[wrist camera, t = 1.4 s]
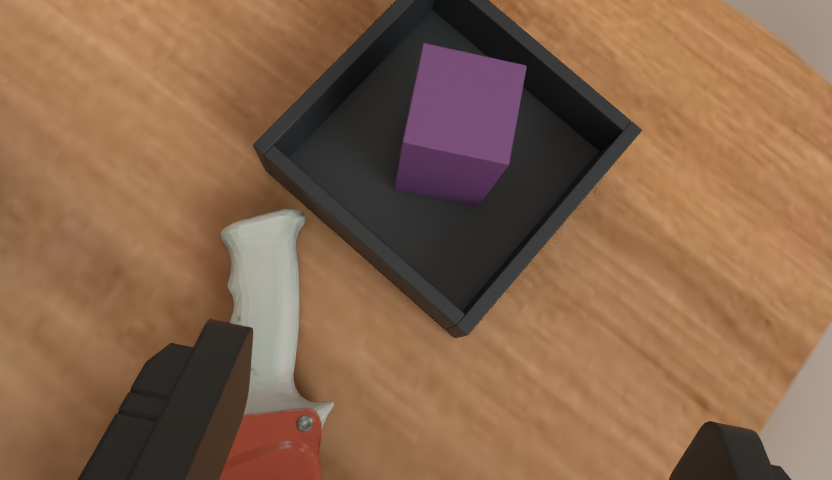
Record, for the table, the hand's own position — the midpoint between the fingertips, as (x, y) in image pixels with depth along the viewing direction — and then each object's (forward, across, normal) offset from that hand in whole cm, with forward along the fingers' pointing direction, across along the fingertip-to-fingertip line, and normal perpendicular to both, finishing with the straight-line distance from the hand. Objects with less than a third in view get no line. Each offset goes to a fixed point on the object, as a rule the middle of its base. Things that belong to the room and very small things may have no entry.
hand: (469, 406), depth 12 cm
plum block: (+24, 0, +8) cm, 26 cm away
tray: (+25, 0, +8) cm, 26 cm away
